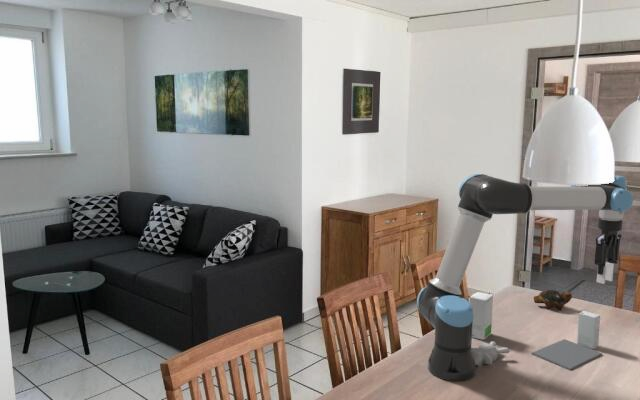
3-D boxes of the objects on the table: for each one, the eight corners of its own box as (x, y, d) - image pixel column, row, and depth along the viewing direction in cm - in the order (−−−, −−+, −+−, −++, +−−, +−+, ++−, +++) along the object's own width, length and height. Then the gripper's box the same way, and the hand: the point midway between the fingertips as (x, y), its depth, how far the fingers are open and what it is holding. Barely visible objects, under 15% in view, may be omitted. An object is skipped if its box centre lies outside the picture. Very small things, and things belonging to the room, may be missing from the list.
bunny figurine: (459, 349, 181) (489, 334, 189) (460, 362, 182) (490, 347, 190) (481, 360, 173) (512, 344, 181) (482, 374, 174) (512, 358, 182)
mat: (569, 370, 175) (570, 368, 175) (531, 354, 186) (531, 352, 186) (601, 354, 186) (602, 353, 186) (564, 340, 197) (564, 339, 197)
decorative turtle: (573, 313, 224) (574, 295, 222) (535, 312, 228) (535, 294, 226) (568, 304, 233) (569, 286, 232) (532, 303, 237) (532, 286, 235)
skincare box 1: (483, 340, 197) (486, 300, 194) (466, 336, 201) (468, 296, 198) (491, 333, 203) (494, 294, 201) (475, 329, 207) (477, 290, 205)
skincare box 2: (598, 346, 192) (601, 314, 190) (593, 350, 190) (596, 317, 188) (581, 341, 197) (584, 309, 195) (575, 344, 194) (578, 312, 192)
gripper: (608, 223, 182) (602, 288, 186) (633, 217, 192) (627, 280, 196) (586, 219, 188) (581, 283, 192) (612, 214, 198) (606, 274, 202)
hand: (604, 281), depth 194 cm, fingers open, 4 cm apart
